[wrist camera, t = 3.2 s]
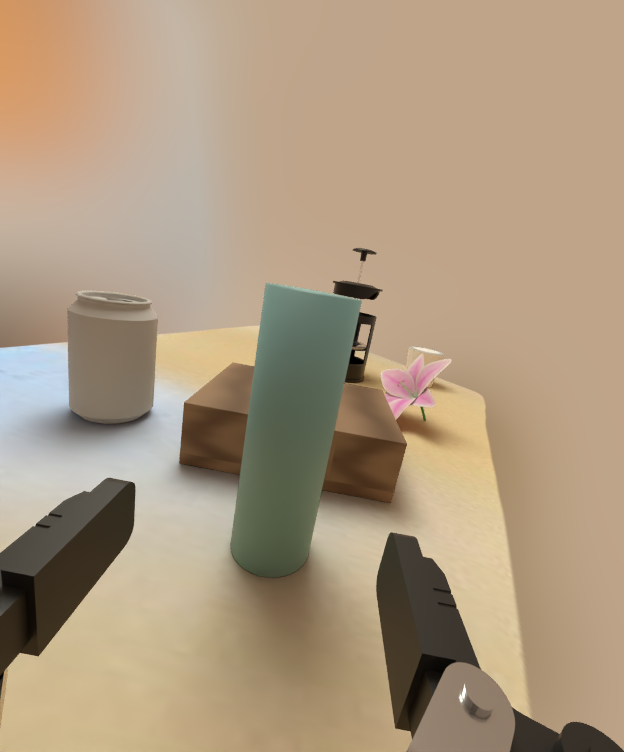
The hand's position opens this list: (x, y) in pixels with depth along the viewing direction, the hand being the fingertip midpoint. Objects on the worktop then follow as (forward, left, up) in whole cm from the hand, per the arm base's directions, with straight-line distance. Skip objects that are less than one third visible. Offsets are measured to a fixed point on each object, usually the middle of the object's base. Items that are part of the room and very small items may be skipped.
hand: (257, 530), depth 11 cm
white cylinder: (+22, +60, -9) cm, 65 cm away
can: (-19, +23, -9) cm, 31 cm away
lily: (+14, +37, -9) cm, 41 cm away
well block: (0, +23, -9) cm, 25 cm away
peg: (0, +9, -9) cm, 13 cm away
